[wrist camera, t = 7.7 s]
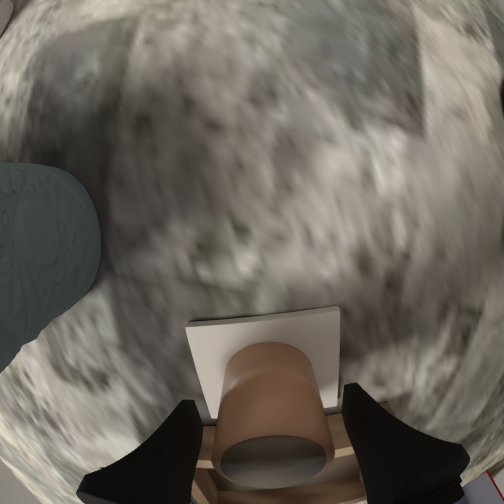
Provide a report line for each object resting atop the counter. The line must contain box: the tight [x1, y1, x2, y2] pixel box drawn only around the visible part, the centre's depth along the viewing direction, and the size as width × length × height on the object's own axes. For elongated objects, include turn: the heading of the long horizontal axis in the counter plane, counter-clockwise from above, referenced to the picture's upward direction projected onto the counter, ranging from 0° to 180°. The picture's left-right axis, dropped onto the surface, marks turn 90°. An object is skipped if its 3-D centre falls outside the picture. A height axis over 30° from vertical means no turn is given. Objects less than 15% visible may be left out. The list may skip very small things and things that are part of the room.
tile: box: [185, 306, 340, 419], centre depth 15 cm, size 8×7×1 cm
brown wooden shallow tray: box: [191, 402, 395, 504], centre depth 16 cm, size 15×11×3 cm
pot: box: [211, 342, 335, 489], centre depth 11 cm, size 5×5×6 cm
